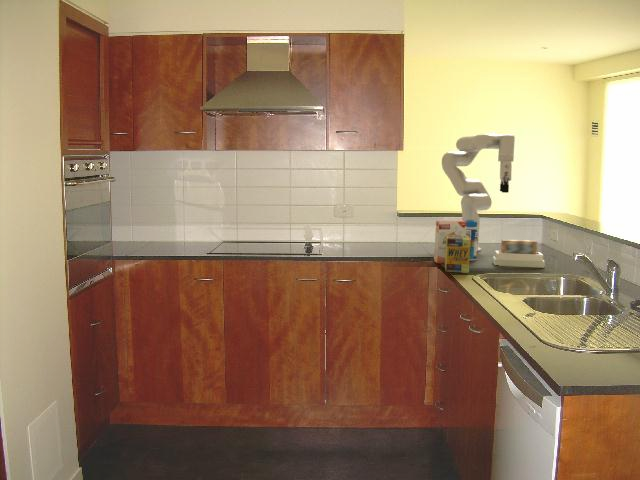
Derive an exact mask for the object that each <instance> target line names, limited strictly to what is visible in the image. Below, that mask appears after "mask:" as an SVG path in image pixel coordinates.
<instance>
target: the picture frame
mask: <svg viewBox="0 0 640 480" xmlns="http://www.w3.org/2000/svg"><path fill="white" fill-rule="evenodd" d="M537 248H538V241H537V240H531V239H530V240H529V239H501V246H500V251H501V253H513V254H536V253H537V251H538V250H537Z"/></svg>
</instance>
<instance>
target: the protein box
mask: <svg viewBox="0 0 640 480" xmlns="http://www.w3.org/2000/svg"><path fill="white" fill-rule="evenodd" d="M444 268H445V272H446V273H456V274H457V273H459V274H469V273H470V238H469V236H465V235H446V251H445V263H444Z"/></svg>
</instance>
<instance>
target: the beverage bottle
mask: <svg viewBox="0 0 640 480" xmlns="http://www.w3.org/2000/svg"><path fill="white" fill-rule="evenodd" d="M464 221H465V222H467V223H466V236H469V238H470V261H477V260H478V251H477V247H479V244H478V237H477V236H478V232H477V230H476V227H477V221H475V220H464ZM470 261H469V262H470Z"/></svg>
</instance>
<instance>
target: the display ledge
mask: <svg viewBox="0 0 640 480" xmlns="http://www.w3.org/2000/svg"><path fill="white" fill-rule="evenodd" d="M492 263H493V265H494V266H495V265H499V266H498V267H516V268H517V267H521V268H541V269H542V268H543V269H544V268H545V264H546V261H545V260H544V254H543V253H541V252H539V251H538V252H537V253H536V254H513V253H501V250H495V251H494V255H493V256H492Z"/></svg>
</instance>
